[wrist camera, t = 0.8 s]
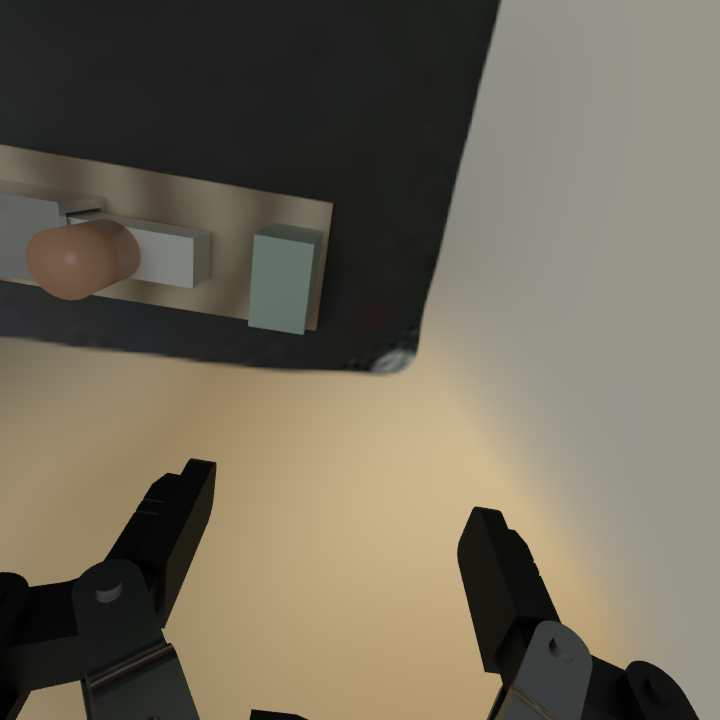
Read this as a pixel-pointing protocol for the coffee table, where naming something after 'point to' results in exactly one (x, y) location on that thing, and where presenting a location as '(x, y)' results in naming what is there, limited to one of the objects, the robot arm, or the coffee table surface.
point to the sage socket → (284, 277)
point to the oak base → (179, 223)
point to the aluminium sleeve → (34, 219)
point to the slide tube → (115, 254)
